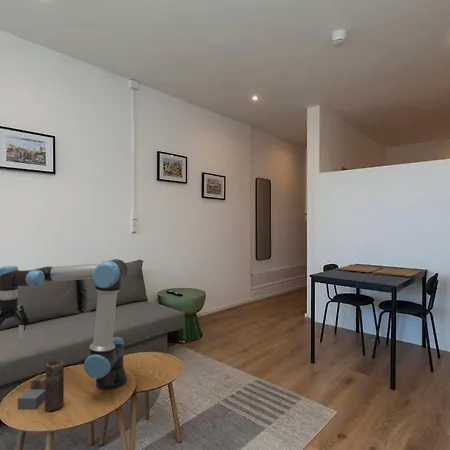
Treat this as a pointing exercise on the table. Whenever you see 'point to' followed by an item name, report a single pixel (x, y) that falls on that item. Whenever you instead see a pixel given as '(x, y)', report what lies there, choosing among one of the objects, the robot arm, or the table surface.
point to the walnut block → (39, 382)
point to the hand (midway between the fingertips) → (8, 342)
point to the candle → (54, 385)
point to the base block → (31, 399)
